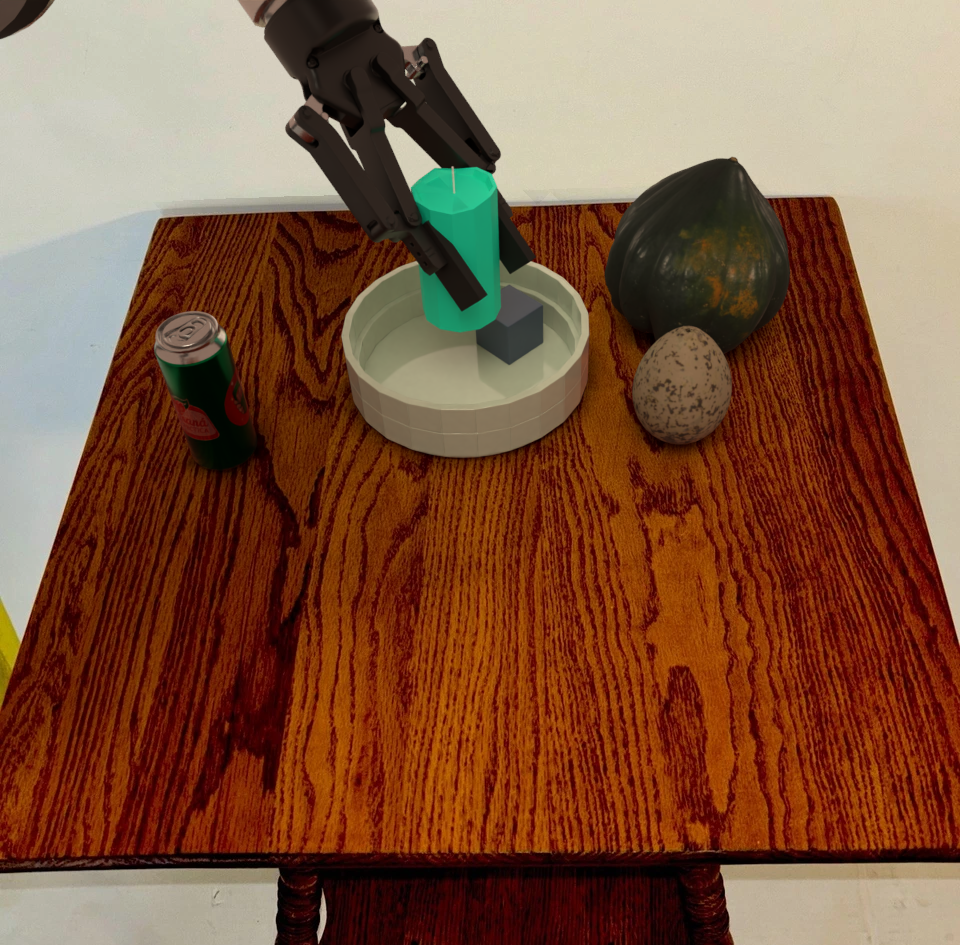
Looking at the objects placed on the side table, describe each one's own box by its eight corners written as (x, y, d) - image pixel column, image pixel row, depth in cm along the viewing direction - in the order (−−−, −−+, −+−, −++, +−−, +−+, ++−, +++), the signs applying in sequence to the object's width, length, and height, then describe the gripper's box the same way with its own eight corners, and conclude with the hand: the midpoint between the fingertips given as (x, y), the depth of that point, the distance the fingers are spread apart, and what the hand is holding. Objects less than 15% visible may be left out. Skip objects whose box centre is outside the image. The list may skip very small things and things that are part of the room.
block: (509, 365, 84) (507, 327, 82) (476, 343, 87) (473, 305, 84) (543, 342, 86) (543, 304, 83) (510, 321, 88) (509, 283, 85)
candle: (515, 298, 80) (512, 157, 71) (474, 342, 76) (465, 200, 68) (450, 275, 82) (440, 136, 73) (407, 316, 79) (391, 176, 70)
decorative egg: (636, 394, 82) (645, 293, 75) (728, 407, 81) (746, 304, 74) (622, 458, 78) (629, 356, 70) (718, 472, 76) (737, 370, 69)
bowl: (458, 501, 75) (453, 449, 71) (305, 377, 86) (293, 325, 82) (636, 376, 84) (640, 323, 80) (477, 276, 94) (474, 224, 90)
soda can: (180, 455, 80) (134, 335, 71) (229, 419, 83) (192, 298, 74) (222, 485, 78) (180, 364, 69) (272, 446, 80) (238, 325, 71)
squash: (584, 334, 79) (732, 193, 71) (565, 229, 90) (692, 97, 82) (709, 417, 86) (858, 297, 78) (678, 310, 96) (806, 195, 88)
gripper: (371, -15, 78) (545, 244, 82) (185, 77, 69) (391, 362, 73) (417, -76, 72) (602, 208, 76) (219, 16, 63) (442, 332, 67)
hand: (498, 283), depth 75 cm, fingers closed on candle, 5 cm apart
